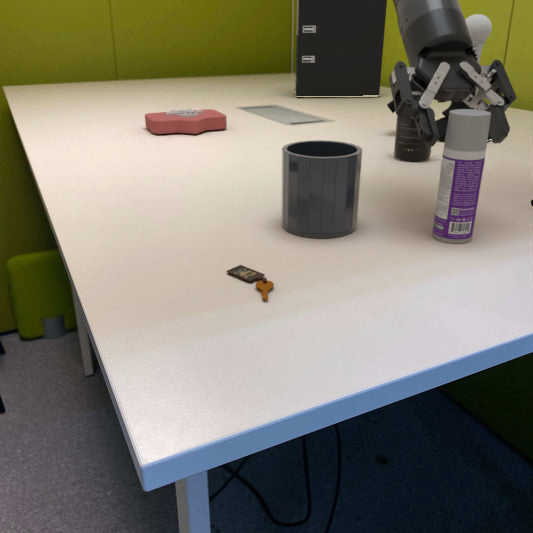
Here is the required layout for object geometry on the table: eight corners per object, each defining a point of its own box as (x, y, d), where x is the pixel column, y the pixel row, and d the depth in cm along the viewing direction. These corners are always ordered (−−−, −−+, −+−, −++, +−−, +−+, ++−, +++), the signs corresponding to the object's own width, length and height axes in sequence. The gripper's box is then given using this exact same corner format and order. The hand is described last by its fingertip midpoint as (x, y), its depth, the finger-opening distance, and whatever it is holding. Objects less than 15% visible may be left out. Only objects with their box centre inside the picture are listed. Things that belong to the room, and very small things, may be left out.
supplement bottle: (398, 152, 109) (404, 89, 104) (433, 155, 106) (441, 91, 101) (389, 160, 103) (395, 93, 98) (425, 163, 101) (434, 96, 96)
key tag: (224, 270, 59) (223, 265, 58) (248, 264, 60) (247, 259, 60) (264, 301, 52) (264, 295, 52) (290, 293, 54) (290, 287, 54)
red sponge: (155, 120, 120) (142, 111, 133) (157, 138, 122) (144, 127, 135) (232, 115, 127) (213, 106, 139) (233, 132, 128) (213, 122, 141)
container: (476, 234, 68) (496, 111, 62) (465, 246, 65) (486, 117, 59) (438, 227, 71) (455, 107, 64) (426, 238, 67) (442, 113, 61)
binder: (372, 92, 193) (380, -10, 179) (379, 98, 179) (388, -12, 166) (295, 92, 193) (297, -9, 180) (296, 98, 180) (298, -11, 166)
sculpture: (500, 144, 115) (523, 13, 105) (386, 141, 118) (397, 14, 108) (484, 130, 129) (503, 13, 119) (382, 128, 132) (392, 14, 122)
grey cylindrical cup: (317, 207, 78) (319, 137, 74) (372, 225, 71) (378, 148, 67) (266, 223, 72) (265, 148, 68) (321, 244, 65) (324, 162, 61)
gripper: (389, 5, 63) (423, 124, 58) (500, 5, 66) (543, 119, 60) (368, 51, 70) (397, 162, 65) (469, 50, 73) (505, 156, 67)
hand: (467, 141), depth 62 cm, fingers open, 8 cm apart
